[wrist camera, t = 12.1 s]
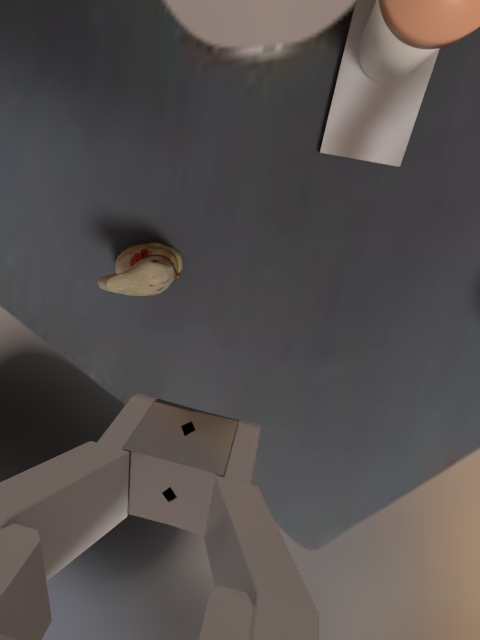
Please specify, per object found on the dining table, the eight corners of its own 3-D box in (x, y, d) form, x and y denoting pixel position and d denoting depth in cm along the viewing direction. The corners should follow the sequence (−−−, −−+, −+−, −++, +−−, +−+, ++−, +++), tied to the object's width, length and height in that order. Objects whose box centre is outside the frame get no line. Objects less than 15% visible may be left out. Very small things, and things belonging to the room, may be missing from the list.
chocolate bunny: (180, 296, 39) (142, 335, 30) (117, 271, 39) (61, 302, 30) (193, 252, 37) (156, 280, 28) (126, 225, 37) (68, 244, 28)
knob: (342, 84, 28) (366, 30, 17) (366, -12, 25) (413, -155, 14) (417, 96, 27) (495, 48, 16) (450, -1, 25) (569, -140, 13)
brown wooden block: (270, 144, 31) (260, 138, 24) (326, -164, 23) (334, -301, 16) (450, 175, 30) (492, 179, 23) (577, -141, 22) (700, -281, 15)
